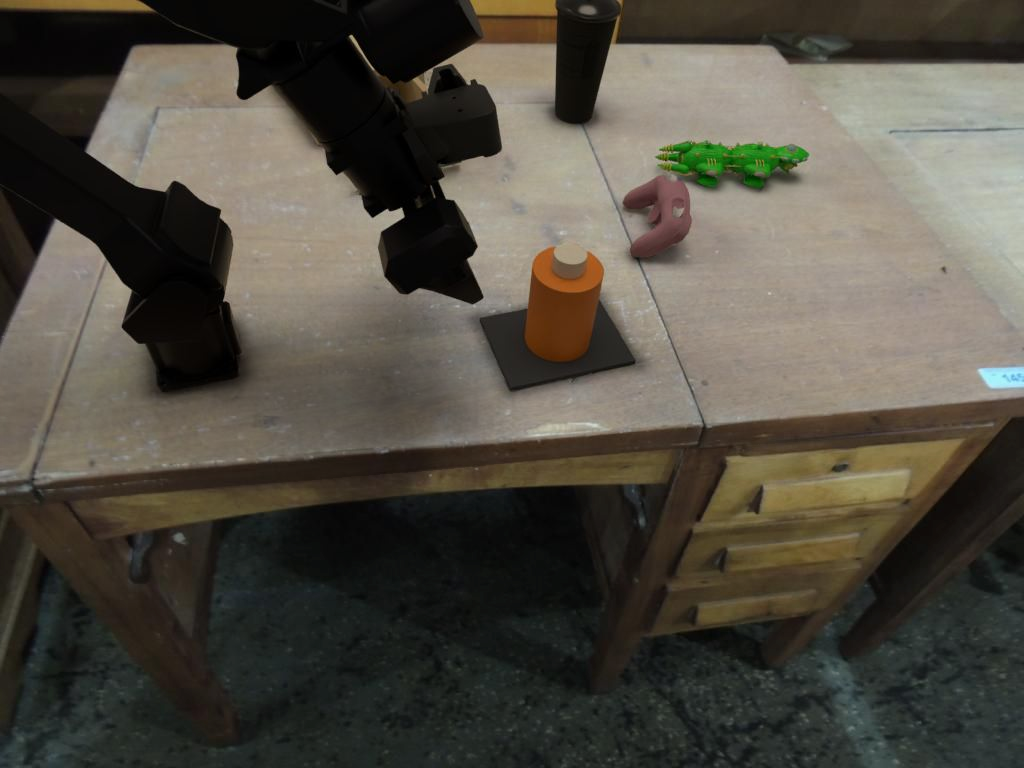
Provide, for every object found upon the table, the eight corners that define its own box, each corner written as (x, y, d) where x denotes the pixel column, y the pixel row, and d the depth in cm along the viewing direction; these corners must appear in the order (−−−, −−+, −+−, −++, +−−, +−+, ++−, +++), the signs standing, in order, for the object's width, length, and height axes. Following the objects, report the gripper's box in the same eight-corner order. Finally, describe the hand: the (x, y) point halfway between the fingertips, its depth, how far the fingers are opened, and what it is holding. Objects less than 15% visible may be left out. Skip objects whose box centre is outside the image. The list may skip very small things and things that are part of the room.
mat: (510, 391, 64) (510, 388, 64) (479, 320, 70) (479, 317, 69) (635, 363, 67) (636, 360, 67) (596, 298, 73) (596, 294, 72)
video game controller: (661, 274, 78) (706, 227, 73) (626, 256, 76) (669, 207, 72) (650, 217, 85) (691, 171, 80) (618, 199, 83) (658, 151, 78)
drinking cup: (613, 111, 96) (643, -58, 81) (585, 136, 92) (612, -38, 77) (562, 93, 99) (583, -75, 84) (532, 116, 94) (548, -57, 79)
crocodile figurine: (808, 192, 87) (822, 159, 84) (658, 188, 86) (666, 155, 82) (791, 160, 92) (803, 128, 88) (648, 156, 90) (655, 124, 87)
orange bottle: (514, 349, 67) (522, 263, 59) (538, 308, 71) (549, 222, 63) (576, 371, 66) (593, 286, 58) (598, 328, 69) (616, 243, 62)
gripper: (484, 107, 41) (589, 284, 53) (427, -5, 54) (521, 156, 65) (322, 211, 43) (456, 361, 55) (303, 79, 56) (415, 222, 67)
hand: (465, 265), depth 60 cm, fingers open, 9 cm apart
